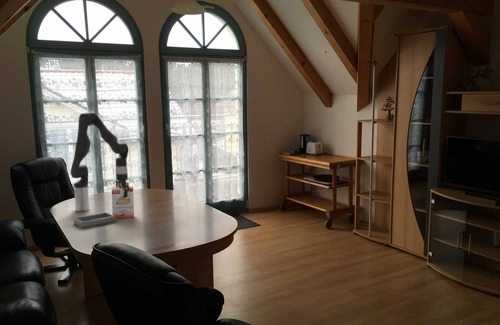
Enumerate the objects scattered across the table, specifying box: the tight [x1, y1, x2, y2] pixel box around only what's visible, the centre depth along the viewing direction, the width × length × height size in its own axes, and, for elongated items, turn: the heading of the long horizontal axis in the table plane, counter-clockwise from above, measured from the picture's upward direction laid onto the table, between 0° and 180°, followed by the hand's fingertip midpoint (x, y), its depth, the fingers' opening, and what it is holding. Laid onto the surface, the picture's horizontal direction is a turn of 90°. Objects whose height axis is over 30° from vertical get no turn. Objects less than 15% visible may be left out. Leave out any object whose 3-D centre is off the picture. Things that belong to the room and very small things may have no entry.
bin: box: [72, 212, 117, 230], centre depth 270 cm, size 14×22×4 cm, turn 134°
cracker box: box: [111, 185, 135, 219], centre depth 282 cm, size 14×6×21 cm, turn 105°
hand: (122, 196), depth 281 cm, fingers closed on cracker box, 8 cm apart
